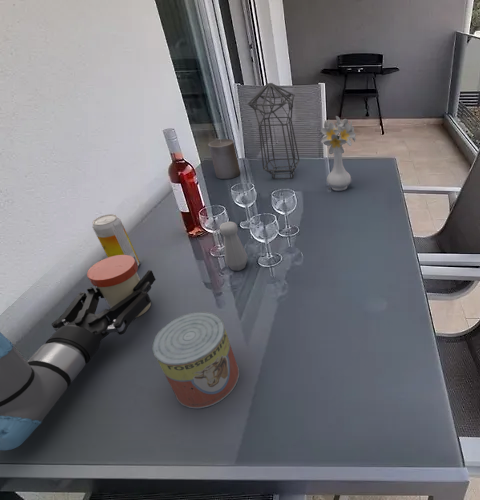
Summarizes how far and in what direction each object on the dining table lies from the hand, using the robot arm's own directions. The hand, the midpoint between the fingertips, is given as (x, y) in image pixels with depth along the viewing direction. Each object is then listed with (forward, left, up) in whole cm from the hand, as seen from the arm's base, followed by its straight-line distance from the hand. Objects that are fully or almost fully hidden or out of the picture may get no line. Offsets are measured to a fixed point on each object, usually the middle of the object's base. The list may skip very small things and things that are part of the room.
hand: (134, 275), depth 81 cm
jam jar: (+1, -5, -6) cm, 8 cm away
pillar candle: (-19, +72, -6) cm, 75 cm away
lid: (+1, -5, +6) cm, 7 cm away
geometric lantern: (+4, +76, -6) cm, 77 cm away
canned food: (+29, -18, -6) cm, 35 cm away
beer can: (-12, +8, -6) cm, 16 cm away
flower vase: (+31, +68, -6) cm, 75 cm away
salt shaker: (+17, +15, -6) cm, 24 cm away
